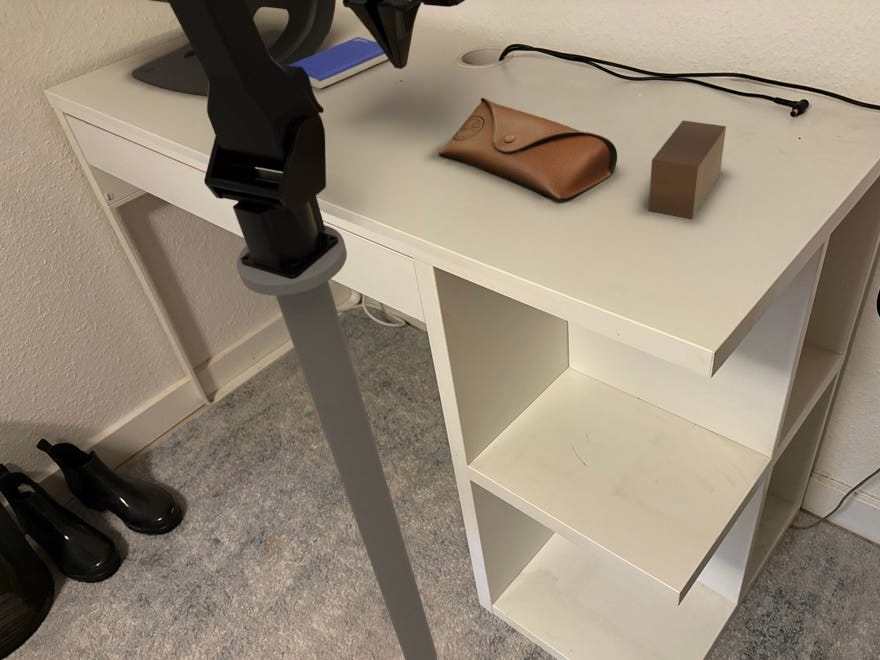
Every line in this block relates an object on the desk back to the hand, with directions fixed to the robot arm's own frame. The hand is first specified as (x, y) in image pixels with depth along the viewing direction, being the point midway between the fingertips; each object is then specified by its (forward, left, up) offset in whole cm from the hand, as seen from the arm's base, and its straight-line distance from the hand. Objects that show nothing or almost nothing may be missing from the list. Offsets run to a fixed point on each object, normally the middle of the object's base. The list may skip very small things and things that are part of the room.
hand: (401, 67), depth 75 cm
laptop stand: (+14, +41, -9) cm, 44 cm away
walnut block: (0, -30, -8) cm, 31 cm away
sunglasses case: (0, -13, -9) cm, 16 cm away
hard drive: (+16, +23, -9) cm, 29 cm away
